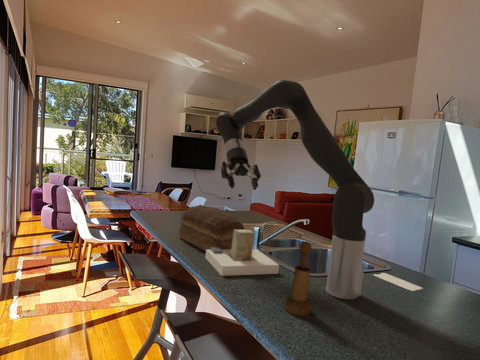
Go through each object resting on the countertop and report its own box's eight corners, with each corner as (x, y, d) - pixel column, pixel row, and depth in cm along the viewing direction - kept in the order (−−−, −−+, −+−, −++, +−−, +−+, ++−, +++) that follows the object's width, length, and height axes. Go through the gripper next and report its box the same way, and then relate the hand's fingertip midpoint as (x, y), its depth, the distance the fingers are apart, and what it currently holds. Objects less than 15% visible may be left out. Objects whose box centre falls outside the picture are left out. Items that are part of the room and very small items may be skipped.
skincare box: (234, 267, 122) (238, 232, 121) (229, 263, 126) (232, 229, 125) (251, 267, 125) (255, 232, 124) (245, 262, 129) (249, 229, 128)
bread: (204, 235, 164) (207, 200, 162) (248, 255, 139) (252, 214, 137) (175, 237, 155) (178, 200, 154) (216, 259, 130) (220, 215, 128)
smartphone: (425, 290, 121) (383, 273, 134) (425, 288, 121) (383, 272, 134) (412, 293, 117) (370, 275, 130) (412, 291, 117) (370, 274, 130)
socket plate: (255, 256, 137) (257, 246, 137) (278, 273, 121) (279, 262, 120) (205, 257, 130) (206, 246, 129) (221, 275, 113) (222, 263, 113)
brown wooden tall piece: (310, 318, 90) (318, 247, 88) (284, 313, 91) (292, 243, 90) (310, 307, 96) (318, 241, 95) (286, 302, 97) (293, 237, 96)
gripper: (221, 144, 131) (228, 179, 121) (256, 148, 136) (266, 182, 126) (215, 158, 136) (222, 193, 126) (249, 161, 141) (258, 195, 132)
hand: (244, 187), depth 126 cm, fingers open, 8 cm apart
